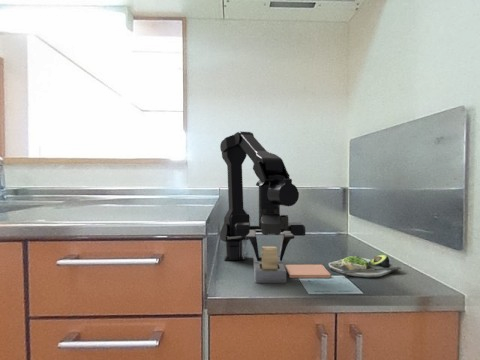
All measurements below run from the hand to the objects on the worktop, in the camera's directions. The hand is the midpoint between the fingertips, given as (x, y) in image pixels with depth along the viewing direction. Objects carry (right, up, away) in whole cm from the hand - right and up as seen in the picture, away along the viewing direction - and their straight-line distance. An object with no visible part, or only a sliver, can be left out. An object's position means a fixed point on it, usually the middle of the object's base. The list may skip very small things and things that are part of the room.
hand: (269, 260), depth 101 cm
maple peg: (0, -5, 0) cm, 5 cm away
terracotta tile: (+11, -4, +5) cm, 13 cm away
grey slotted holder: (0, -4, +4) cm, 6 cm away
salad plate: (+28, -5, +8) cm, 30 cm away
